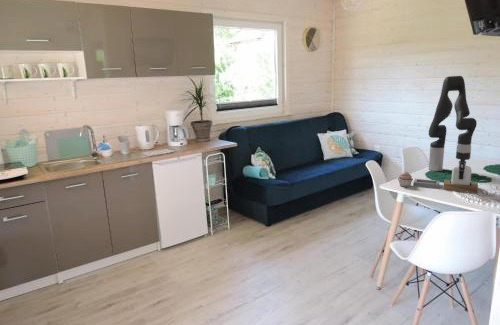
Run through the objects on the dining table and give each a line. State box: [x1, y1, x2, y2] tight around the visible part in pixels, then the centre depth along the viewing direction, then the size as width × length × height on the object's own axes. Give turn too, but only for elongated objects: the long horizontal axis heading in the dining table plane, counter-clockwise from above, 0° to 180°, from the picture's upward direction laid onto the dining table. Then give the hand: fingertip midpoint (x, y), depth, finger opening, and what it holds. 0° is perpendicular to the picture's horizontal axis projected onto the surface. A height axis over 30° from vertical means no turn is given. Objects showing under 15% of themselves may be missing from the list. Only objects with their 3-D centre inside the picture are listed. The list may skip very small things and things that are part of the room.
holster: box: [412, 178, 441, 189], centre depth 232 cm, size 8×14×2 cm, turn 59°
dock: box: [442, 179, 479, 194], centre depth 222 cm, size 11×18×4 cm, turn 59°
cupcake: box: [397, 170, 414, 188], centre depth 232 cm, size 9×9×10 cm
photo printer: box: [450, 164, 472, 185], centre depth 221 cm, size 10×4×12 cm, turn 67°
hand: (461, 177), depth 221 cm, fingers closed on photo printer, 4 cm apart
